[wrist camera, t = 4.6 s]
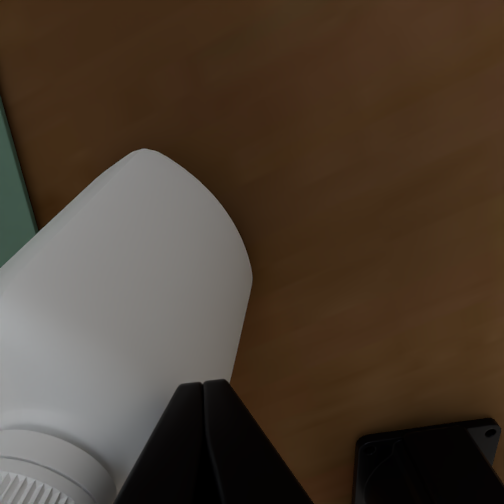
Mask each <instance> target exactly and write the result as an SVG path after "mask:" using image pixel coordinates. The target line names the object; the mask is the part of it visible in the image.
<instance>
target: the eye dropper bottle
mask: <svg viewBox="0 0 504 504" xmlns="http://www.w3.org/2000/svg"><path fill="white" fill-rule="evenodd" d="M252 280H253V277H252V270H251V265H250V261H249V258H248V254H247V251H246V248H245V246H244V243H243V241H242V238H241V236H240V234H239V232H238V230H237V228H236V226H235V225H234V223H233V221H232V220H231V218H230V216H229V215H228V213H227V212H226V211H225V209H224V208H223V206H222V205H221V204H220V203H219V201H218V200H217V199H216V198H215V197H214V195H213V194H212V193H211V192H210V191H209V190H208V189H207V188H206V187H205V186H204V185H203V184H202V183H201V182H200V181H199V180H197V179H196V178H195V177H194V176H193V175H192V174H190V173H189V172H188V171H187V170H185V169H184V168H183V167H181V166H180V165H179V164H177V163H176V162H174V161H173V160H171V159H170V158H168V157H167V156H165V155H163V154H161V153H159V152H157V151H154V150H149V149H140V150H137V151H133V152H131V153H130V154H128V155H127V156H125V157H124V158H122V159H121V160H120V161H118V162H117V163H115V164H114V165H113V166H111V167H110V168H109V169H107V170H106V171H105V172H103V173H102V174H101V175H99V176H98V177H97V178H96V179H95V180H94V181H93V182H92V183H91V184H89V185H88V186H87V187H86V188H85V189H84V190H83V191H82V192H81V193H80V194H79V195H78V196H77V197H75V198H74V199H73V200H72V201H71V202H70V203H69V204H68V205H67V206H66V207H65V208H64V209H63V210H62V211H60V212H59V213H58V214H57V215H56V216H55V217H54V218H53V219H52V220H51V221H50V222H49V223H48V224H47V225H45V226H44V227H43V228H42V229H41V230H40V231H39V232H38V233H37V234H36V235H35V236H34V237H33V238H32V239H31V240H30V241H29V242H27V243H26V244H25V245H24V246H23V247H22V248H21V249H20V250H19V251H18V252H17V253H16V254H15V255H14V256H13V257H12V258H10V259H9V260H8V261H7V262H6V263H5V264H4V265H3V266H2V267H1V268H0V504H113V502H114V500H115V498H116V497H117V495H118V493H119V491H120V489H121V488H122V486H123V484H124V482H125V480H126V479H127V477H128V475H129V473H130V471H131V470H132V468H133V466H134V464H135V462H136V461H137V459H138V457H139V455H140V453H141V452H142V450H143V448H144V446H145V444H146V443H147V441H148V439H149V437H150V435H151V434H152V432H153V430H154V428H155V426H156V425H157V423H158V421H159V419H160V417H161V416H162V414H163V412H164V410H165V408H166V407H167V405H168V403H169V401H170V399H171V398H172V396H173V394H174V392H175V391H176V389H177V387H178V386H179V385H180V384H182V383H191V382H201V383H202V384H203V383H204V382H205V381H207V380H216V379H226V380H227V381H228V382H229V383H230V379H231V375H232V371H233V366H234V362H235V358H236V353H237V349H238V345H239V340H240V336H241V331H242V327H243V322H244V318H245V314H246V309H247V305H248V300H249V296H250V291H251V286H252Z"/></svg>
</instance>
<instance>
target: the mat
mask: <svg viewBox="0 0 504 504" xmlns="http://www.w3.org/2000/svg"><path fill="white" fill-rule="evenodd" d="M38 232H39V231H38V228H37V224H36V221H35V217H34V214H33V210H32V207H31V203H30V199H29V196H28V192H27V189H26V185H25V182H24V178H23V175H22V171H21V167H20V164H19V160H18V157H17V153H16V150H15V146H14V143H13V139H12V135H11V132H10V128H9V125H8V121H7V118H6V114H5V111H4V107H3V104H2V100H1V96H0V268H1V267H2V266H3V265H4V264H5V263H6V262H7V261H8V260H9V259H10V258H12V257H13V256H14V255H15V254H16V253H17V252H18V251H19V250H20V249H21V248H22V247H23V246H24V245H25V244H26V243H27V242H29V241H30V240H31V239H32V238H33V237H34V236H35V235H36V234H37V233H38Z"/></svg>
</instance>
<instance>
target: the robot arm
mask: <svg viewBox="0 0 504 504" xmlns="http://www.w3.org/2000/svg"><path fill="white" fill-rule="evenodd" d="M500 434H501V428H500V426H499V425H498V424H497V422H496V421H495V420H494V419H492V418H485V419H477V420H470V421H463V422H456V423H449V424H441V425H434V426H427V427H420V428H413V429H406V430H398V431H391V432H384V433H377V434H370V435H365V436H362V437H361V438H359V439H358V440H357V442H356V448H355V463H354V477H353V492H352V504H504V484H503V482H502V481H501V479H500V478H499V476H498V475H497V473H496V472H495V470H494V469H493V467H492V464H493V461H494V457H495V453H496V449H497V445H498V442H499V438H500ZM113 504H314V503H313V501H312V500H311V499H310V497H309V496H308V494H307V493H306V491H305V490H304V489H303V487H302V486H301V484H300V483H299V482H298V480H297V479H296V477H295V476H294V474H293V473H292V472H291V470H290V469H289V467H288V466H287V465H286V463H285V462H284V460H283V459H282V457H281V456H280V455H279V453H278V452H277V450H276V449H275V448H274V446H273V445H272V443H271V442H270V440H269V439H268V438H267V436H266V435H265V433H264V432H263V431H262V429H261V428H260V426H259V425H258V423H257V422H256V421H255V419H254V418H253V416H252V415H251V414H250V412H249V411H248V409H247V408H246V406H245V405H244V404H243V402H242V401H241V399H240V398H239V397H238V395H237V394H236V392H235V391H234V389H233V388H232V387H231V385H230V384H229V382H228V381H227V380H226V379H216V380H207V381H205V382H204V383H203V384H202V383H201V382H191V383H182V384H180V385H179V386H178V387H177V389H176V391H175V392H174V394H173V396H172V398H171V399H170V401H169V403H168V405H167V407H166V408H165V410H164V412H163V414H162V416H161V417H160V419H159V421H158V423H157V425H156V426H155V428H154V430H153V432H152V434H151V435H150V437H149V439H148V441H147V443H146V444H145V446H144V448H143V450H142V452H141V453H140V455H139V457H138V459H137V461H136V462H135V464H134V466H133V468H132V470H131V471H130V473H129V475H128V477H127V479H126V480H125V482H124V484H123V486H122V488H121V489H120V491H119V493H118V495H117V497H116V498H115V500H114V502H113Z"/></svg>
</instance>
